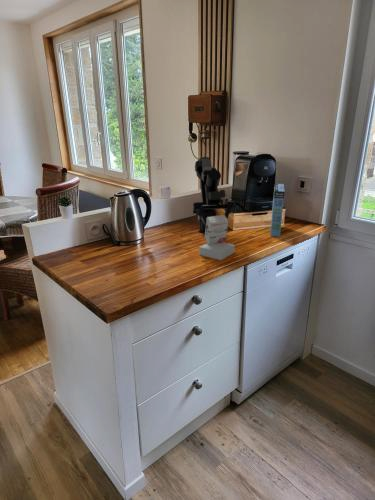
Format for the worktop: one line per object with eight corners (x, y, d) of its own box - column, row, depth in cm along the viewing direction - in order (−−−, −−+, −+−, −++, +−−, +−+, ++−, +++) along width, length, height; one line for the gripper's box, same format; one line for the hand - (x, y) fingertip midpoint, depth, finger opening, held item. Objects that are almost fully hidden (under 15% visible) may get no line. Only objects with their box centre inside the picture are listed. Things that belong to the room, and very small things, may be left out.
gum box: (270, 225, 186) (274, 183, 178) (280, 225, 185) (284, 183, 177) (270, 236, 168) (273, 190, 160) (280, 237, 167) (284, 191, 159)
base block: (199, 255, 147) (199, 247, 146) (213, 248, 156) (213, 240, 154) (220, 261, 141) (221, 252, 140) (234, 253, 149) (234, 244, 148)
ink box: (221, 235, 155) (224, 213, 147) (225, 241, 151) (229, 220, 143) (203, 238, 152) (206, 216, 145) (207, 244, 149) (210, 222, 141)
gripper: (193, 184, 145) (196, 216, 139) (235, 182, 146) (240, 214, 140) (191, 197, 155) (194, 228, 149) (231, 196, 157) (235, 226, 151)
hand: (215, 224), depth 147 cm, fingers open, 9 cm apart
